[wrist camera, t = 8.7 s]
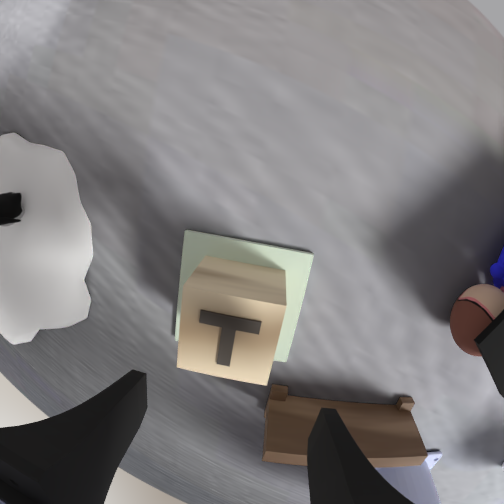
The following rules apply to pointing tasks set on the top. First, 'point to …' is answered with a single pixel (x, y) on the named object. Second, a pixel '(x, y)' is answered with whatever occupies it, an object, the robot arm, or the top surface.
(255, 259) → the pad
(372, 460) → the brown piece
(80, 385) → the top surface
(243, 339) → the letter cube
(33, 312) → the figurine
